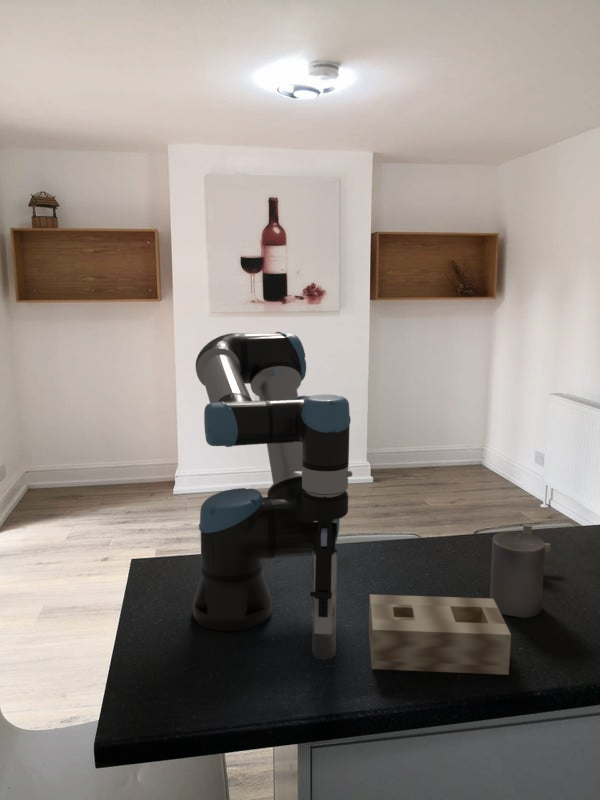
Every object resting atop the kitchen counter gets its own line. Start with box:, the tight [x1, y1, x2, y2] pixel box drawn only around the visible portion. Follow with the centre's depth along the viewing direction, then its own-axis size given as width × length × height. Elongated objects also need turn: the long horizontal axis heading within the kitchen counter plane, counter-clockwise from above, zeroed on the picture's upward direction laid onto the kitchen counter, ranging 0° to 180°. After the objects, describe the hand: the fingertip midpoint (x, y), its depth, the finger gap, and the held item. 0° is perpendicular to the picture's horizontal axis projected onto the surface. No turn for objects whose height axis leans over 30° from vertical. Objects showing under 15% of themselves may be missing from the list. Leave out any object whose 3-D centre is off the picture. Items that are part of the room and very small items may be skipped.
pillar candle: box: [489, 530, 545, 619], centre depth 122 cm, size 10×10×15 cm
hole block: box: [368, 594, 512, 676], centre depth 108 cm, size 22×12×7 cm, turn 86°
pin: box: [311, 552, 338, 661], centre depth 106 cm, size 4×4×18 cm
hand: (324, 611), depth 106 cm, fingers open, 13 cm apart
